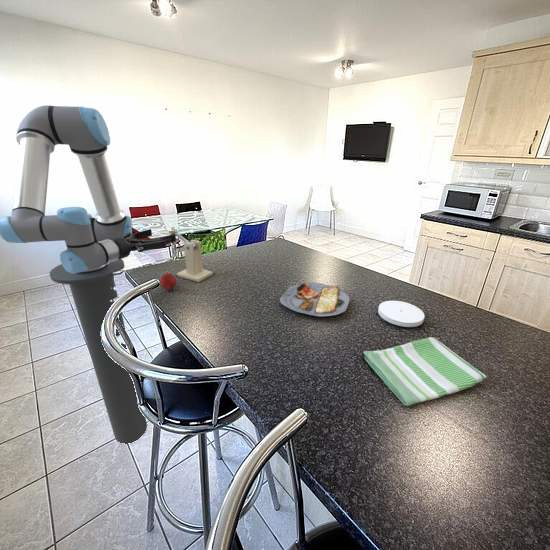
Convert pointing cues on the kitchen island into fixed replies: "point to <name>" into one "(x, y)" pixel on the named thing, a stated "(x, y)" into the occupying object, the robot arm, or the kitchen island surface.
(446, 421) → the kitchen island surface
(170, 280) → the onion
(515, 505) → the kitchen island surface
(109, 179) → the robot arm
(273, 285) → the kitchen island surface
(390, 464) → the kitchen island surface
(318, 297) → the food plate
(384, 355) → the dish towel
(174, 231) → the lever
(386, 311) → the plastic lid
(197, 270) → the bracket
